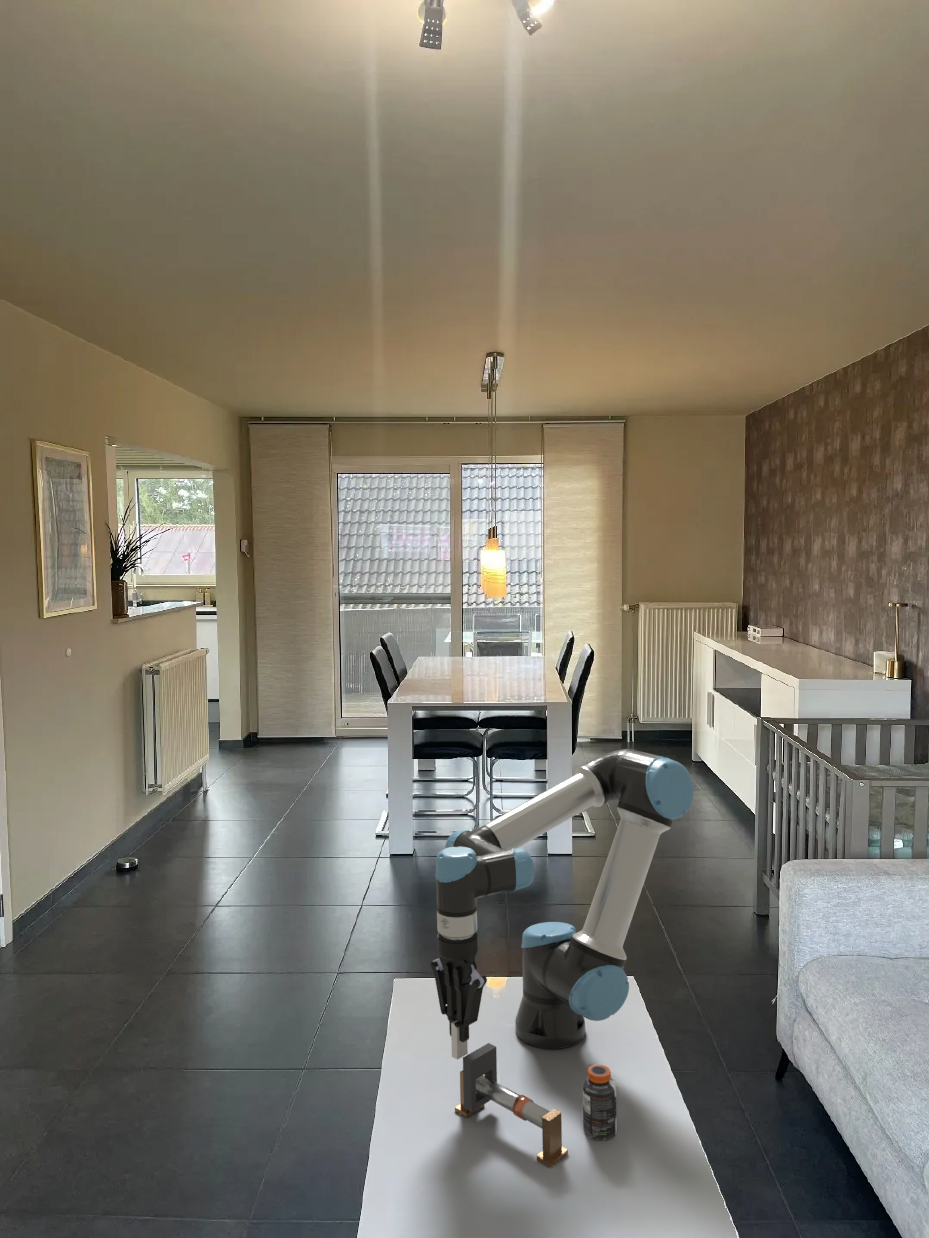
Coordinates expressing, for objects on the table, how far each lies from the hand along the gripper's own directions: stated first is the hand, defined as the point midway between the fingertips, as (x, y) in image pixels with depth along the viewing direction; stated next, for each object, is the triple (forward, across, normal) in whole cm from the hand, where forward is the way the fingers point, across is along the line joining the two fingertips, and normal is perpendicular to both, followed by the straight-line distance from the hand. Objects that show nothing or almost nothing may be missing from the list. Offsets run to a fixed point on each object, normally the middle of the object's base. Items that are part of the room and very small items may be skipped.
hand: (459, 1054), depth 165 cm
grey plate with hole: (+7, +5, 0) cm, 9 cm away
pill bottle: (+10, +24, +11) cm, 28 cm away
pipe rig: (+9, +12, 0) cm, 15 cm away
